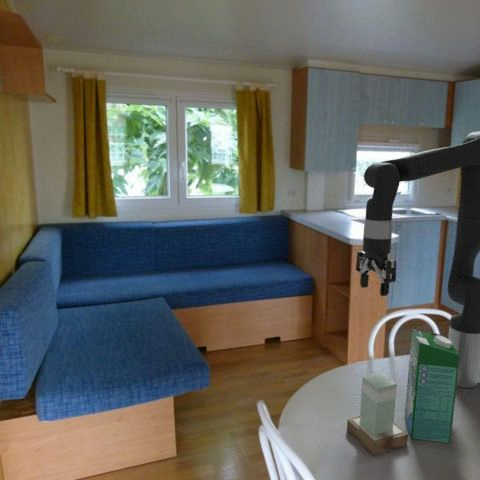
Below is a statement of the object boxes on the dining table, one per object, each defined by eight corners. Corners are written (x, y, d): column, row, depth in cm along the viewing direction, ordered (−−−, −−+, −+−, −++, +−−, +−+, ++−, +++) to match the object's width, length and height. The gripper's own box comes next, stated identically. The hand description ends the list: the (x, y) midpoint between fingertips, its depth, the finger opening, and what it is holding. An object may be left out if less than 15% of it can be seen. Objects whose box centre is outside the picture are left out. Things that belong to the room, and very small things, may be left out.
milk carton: (450, 443, 102) (461, 346, 97) (410, 438, 104) (419, 342, 99) (440, 421, 111) (450, 331, 106) (404, 417, 112) (412, 328, 108)
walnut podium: (379, 421, 110) (379, 410, 110) (407, 445, 101) (408, 433, 101) (346, 430, 107) (347, 418, 106) (373, 455, 98) (374, 443, 97)
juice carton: (377, 416, 107) (380, 372, 105) (393, 429, 102) (397, 383, 100) (359, 421, 105) (362, 377, 103) (374, 435, 100) (377, 388, 98)
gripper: (406, 239, 113) (401, 297, 116) (371, 230, 126) (368, 283, 129) (384, 240, 111) (379, 300, 114) (350, 232, 124) (347, 285, 127)
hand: (373, 291), depth 121 cm, fingers open, 8 cm apart
